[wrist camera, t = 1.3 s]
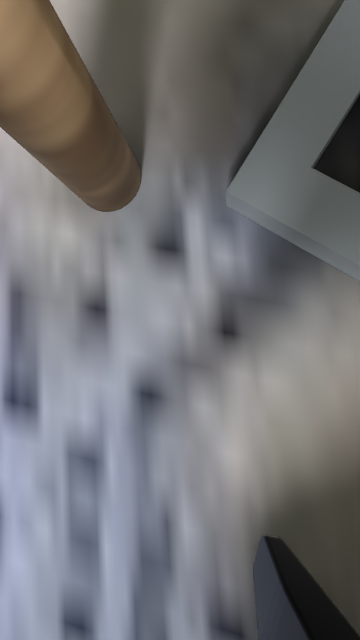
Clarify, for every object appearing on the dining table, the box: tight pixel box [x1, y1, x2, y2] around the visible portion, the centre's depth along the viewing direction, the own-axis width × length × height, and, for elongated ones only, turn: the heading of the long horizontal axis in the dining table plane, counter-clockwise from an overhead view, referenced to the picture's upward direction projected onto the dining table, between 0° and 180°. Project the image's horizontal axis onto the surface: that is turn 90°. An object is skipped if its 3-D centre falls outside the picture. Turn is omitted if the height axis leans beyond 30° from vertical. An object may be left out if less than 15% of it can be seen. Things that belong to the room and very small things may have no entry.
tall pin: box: [0, 0, 141, 212], centre depth 13 cm, size 4×4×14 cm
